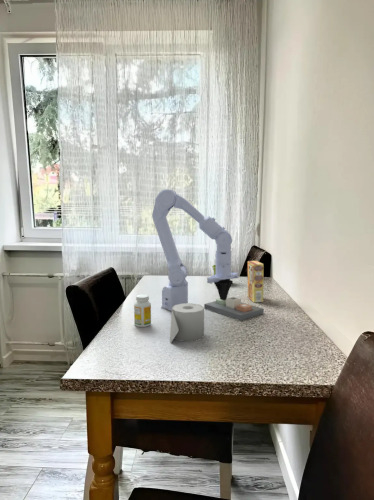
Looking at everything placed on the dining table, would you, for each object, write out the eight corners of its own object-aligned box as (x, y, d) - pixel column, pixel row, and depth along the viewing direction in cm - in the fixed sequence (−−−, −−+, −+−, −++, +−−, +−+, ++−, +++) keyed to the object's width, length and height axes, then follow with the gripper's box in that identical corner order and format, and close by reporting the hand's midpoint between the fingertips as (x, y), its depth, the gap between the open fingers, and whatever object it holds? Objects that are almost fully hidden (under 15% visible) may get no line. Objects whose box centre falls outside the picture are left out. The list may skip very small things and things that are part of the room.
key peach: (244, 316, 125) (244, 307, 125) (236, 313, 128) (236, 305, 128) (251, 314, 127) (251, 305, 127) (243, 311, 130) (243, 303, 130)
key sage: (223, 309, 133) (223, 301, 133) (215, 307, 136) (215, 299, 135) (230, 307, 135) (230, 299, 135) (223, 305, 138) (223, 297, 138)
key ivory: (233, 308, 129) (233, 300, 128) (225, 306, 132) (225, 298, 131) (240, 306, 131) (240, 298, 131) (233, 304, 134) (233, 296, 134)
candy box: (263, 302, 143) (264, 264, 141) (253, 302, 142) (254, 264, 140) (256, 296, 151) (257, 260, 149) (246, 296, 151) (247, 260, 149)
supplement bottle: (134, 327, 115) (133, 298, 114) (134, 322, 120) (134, 294, 119) (151, 327, 115) (150, 297, 114) (151, 321, 121) (150, 293, 119)
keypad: (240, 320, 121) (240, 315, 121) (204, 308, 135) (204, 303, 135) (263, 313, 129) (263, 308, 128) (227, 302, 142) (227, 298, 142)
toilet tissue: (165, 345, 101) (165, 315, 100) (177, 328, 114) (177, 302, 113) (197, 348, 99) (197, 317, 98) (206, 331, 112) (206, 304, 110)
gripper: (216, 267, 126) (216, 305, 128) (244, 262, 135) (244, 298, 137) (203, 264, 131) (203, 301, 133) (231, 260, 140) (230, 294, 142)
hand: (223, 299), depth 135 cm, fingers closed, pressing on key sage
